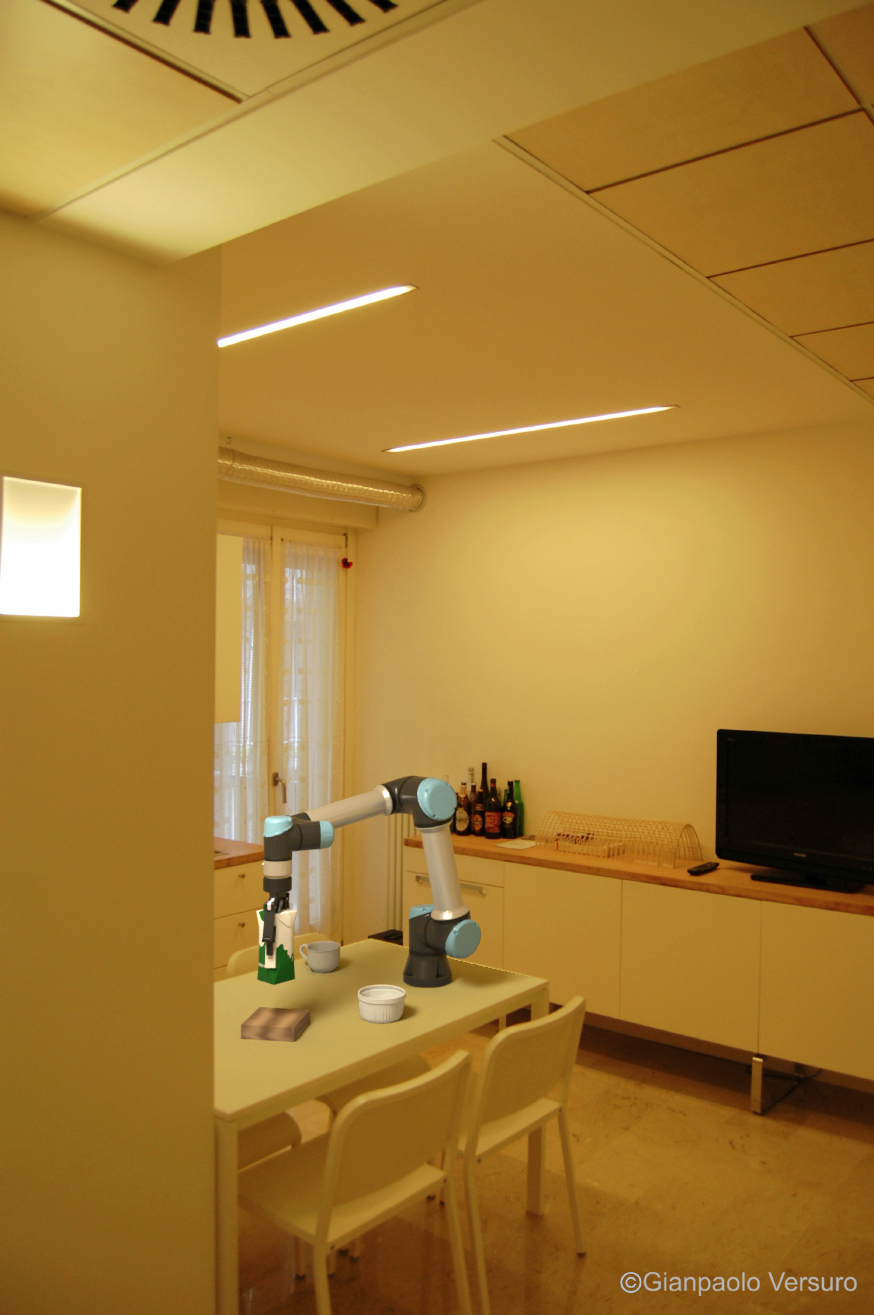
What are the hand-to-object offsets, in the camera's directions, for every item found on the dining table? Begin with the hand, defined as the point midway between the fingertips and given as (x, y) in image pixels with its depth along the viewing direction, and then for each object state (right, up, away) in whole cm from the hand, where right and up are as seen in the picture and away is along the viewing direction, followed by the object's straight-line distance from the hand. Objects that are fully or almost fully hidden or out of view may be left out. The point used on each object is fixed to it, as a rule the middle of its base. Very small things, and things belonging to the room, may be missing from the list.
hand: (276, 962), depth 251 cm
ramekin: (+27, -19, +10) cm, 34 cm away
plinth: (0, -18, -1) cm, 18 cm away
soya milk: (0, -5, 0) cm, 5 cm away
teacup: (+4, -20, +55) cm, 59 cm away
